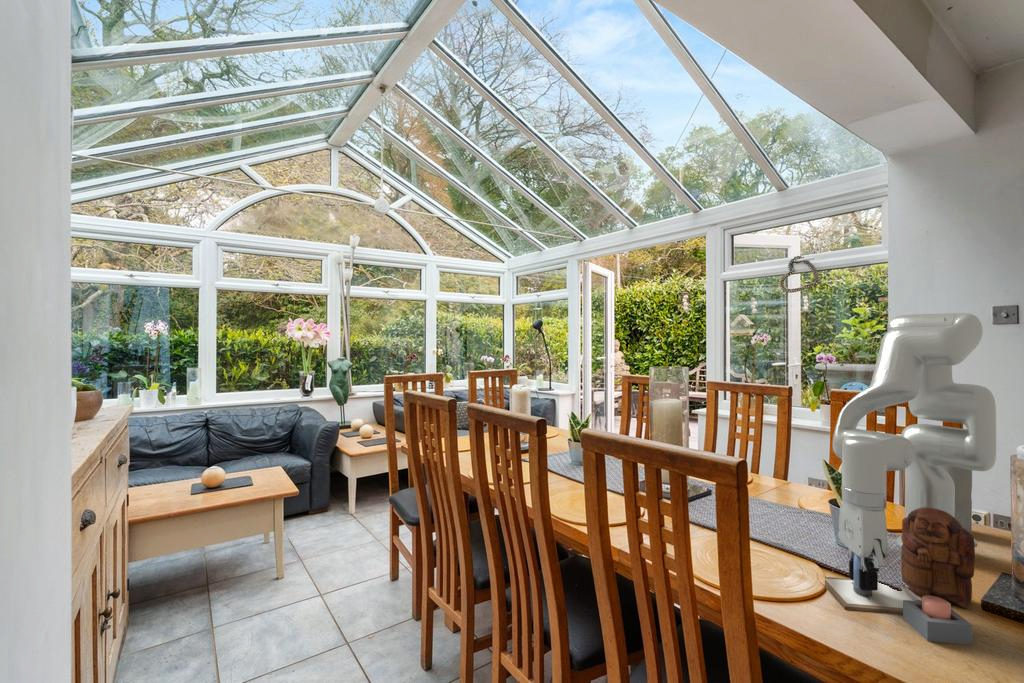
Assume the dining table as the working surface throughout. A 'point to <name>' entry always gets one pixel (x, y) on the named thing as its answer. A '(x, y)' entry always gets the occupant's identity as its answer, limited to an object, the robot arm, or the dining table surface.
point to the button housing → (937, 625)
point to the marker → (856, 577)
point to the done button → (936, 607)
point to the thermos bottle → (962, 495)
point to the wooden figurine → (937, 556)
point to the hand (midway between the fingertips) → (862, 583)
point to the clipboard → (877, 602)
